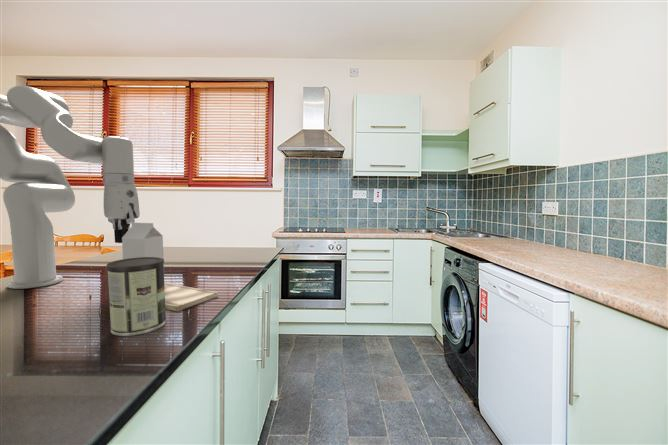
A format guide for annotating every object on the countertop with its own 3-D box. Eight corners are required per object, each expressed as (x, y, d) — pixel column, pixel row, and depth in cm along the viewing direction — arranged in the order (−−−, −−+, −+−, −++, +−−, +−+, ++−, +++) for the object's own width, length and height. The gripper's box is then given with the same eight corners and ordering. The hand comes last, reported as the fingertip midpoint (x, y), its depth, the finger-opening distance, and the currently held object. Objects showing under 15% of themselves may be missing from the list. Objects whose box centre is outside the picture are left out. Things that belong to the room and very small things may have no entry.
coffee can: (142, 314, 74) (140, 255, 73) (177, 320, 71) (175, 258, 70) (97, 332, 64) (93, 264, 63) (134, 340, 61) (131, 268, 60)
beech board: (115, 297, 86) (115, 292, 86) (159, 285, 98) (159, 281, 98) (177, 311, 76) (177, 306, 76) (217, 296, 88) (217, 291, 88)
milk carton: (145, 293, 86) (142, 224, 85) (124, 291, 88) (121, 223, 86) (164, 285, 93) (162, 222, 92) (144, 284, 95) (141, 221, 93)
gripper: (148, 180, 93) (150, 242, 94) (116, 181, 99) (119, 239, 100) (122, 179, 86) (125, 245, 87) (89, 180, 92) (93, 242, 93)
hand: (122, 242), depth 94 cm, fingers closed
